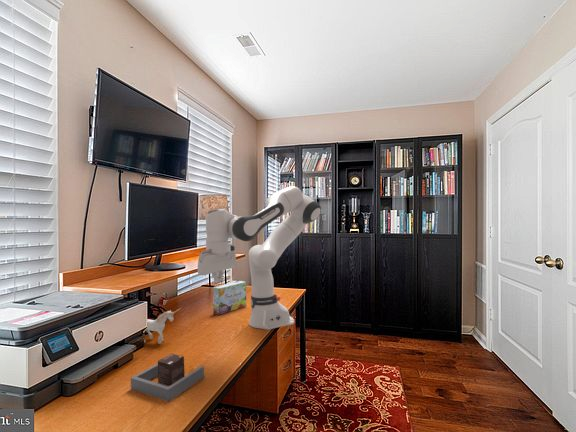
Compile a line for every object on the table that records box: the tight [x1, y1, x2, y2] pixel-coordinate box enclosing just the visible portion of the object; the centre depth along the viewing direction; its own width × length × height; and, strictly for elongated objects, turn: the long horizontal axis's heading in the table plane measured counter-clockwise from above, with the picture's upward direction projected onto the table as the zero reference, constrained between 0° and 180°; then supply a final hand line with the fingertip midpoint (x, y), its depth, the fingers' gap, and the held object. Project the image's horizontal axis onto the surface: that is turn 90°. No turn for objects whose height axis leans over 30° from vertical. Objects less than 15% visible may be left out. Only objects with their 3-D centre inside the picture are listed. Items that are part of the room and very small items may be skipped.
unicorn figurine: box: [143, 307, 182, 345], centre depth 135 cm, size 7×20×13 cm, turn 93°
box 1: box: [157, 353, 186, 387], centre depth 102 cm, size 6×6×7 cm
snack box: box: [212, 280, 247, 316], centre depth 179 cm, size 21×6×15 cm, turn 143°
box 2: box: [130, 363, 205, 403], centre depth 100 cm, size 15×16×4 cm
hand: (218, 282), depth 126 cm, fingers closed
